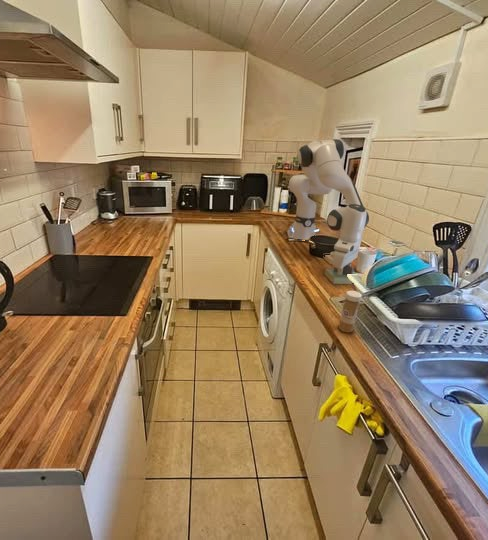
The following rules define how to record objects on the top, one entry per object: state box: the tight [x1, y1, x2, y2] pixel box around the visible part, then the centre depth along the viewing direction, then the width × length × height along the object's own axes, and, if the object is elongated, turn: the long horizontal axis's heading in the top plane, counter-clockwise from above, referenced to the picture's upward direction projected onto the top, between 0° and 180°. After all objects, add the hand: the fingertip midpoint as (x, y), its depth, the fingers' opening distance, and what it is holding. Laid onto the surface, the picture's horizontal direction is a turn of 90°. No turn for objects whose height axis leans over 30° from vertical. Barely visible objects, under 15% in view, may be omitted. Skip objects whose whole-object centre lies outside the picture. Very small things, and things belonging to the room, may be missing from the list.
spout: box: [333, 265, 355, 275], centre depth 135 cm, size 8×2×4 cm, turn 47°
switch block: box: [322, 251, 334, 265], centre depth 157 cm, size 10×10×4 cm
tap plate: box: [324, 268, 357, 285], centre depth 136 cm, size 12×12×3 cm
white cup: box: [355, 248, 378, 274], centre depth 144 cm, size 8×8×10 cm
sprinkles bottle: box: [338, 290, 363, 333], centre depth 97 cm, size 5×5×14 cm
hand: (343, 272), depth 135 cm, fingers open, 6 cm apart
